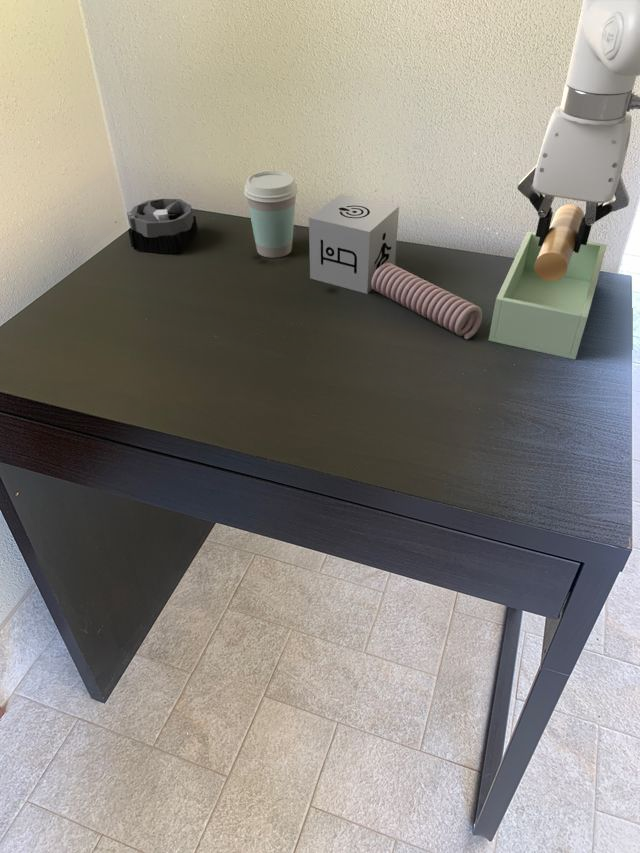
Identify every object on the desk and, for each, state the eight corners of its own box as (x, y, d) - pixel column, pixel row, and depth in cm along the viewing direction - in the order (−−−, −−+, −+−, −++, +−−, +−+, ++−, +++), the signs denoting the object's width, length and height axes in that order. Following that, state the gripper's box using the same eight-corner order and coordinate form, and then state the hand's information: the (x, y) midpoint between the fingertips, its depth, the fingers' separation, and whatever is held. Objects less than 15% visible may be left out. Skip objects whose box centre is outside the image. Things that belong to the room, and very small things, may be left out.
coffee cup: (307, 243, 116) (306, 173, 108) (286, 265, 110) (283, 193, 102) (262, 235, 119) (257, 165, 111) (239, 256, 113) (233, 185, 105)
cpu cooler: (200, 199, 116) (177, 225, 109) (204, 231, 120) (182, 257, 113) (143, 194, 118) (118, 219, 111) (149, 225, 122) (125, 251, 115)
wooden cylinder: (560, 235, 100) (550, 210, 98) (588, 224, 97) (578, 199, 96) (541, 285, 88) (529, 258, 87) (571, 275, 86) (560, 247, 84)
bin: (595, 284, 105) (606, 244, 101) (575, 359, 90) (587, 317, 86) (519, 270, 109) (527, 231, 104) (488, 340, 94) (496, 298, 89)
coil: (368, 268, 100) (464, 317, 90) (390, 255, 102) (486, 302, 92) (369, 295, 104) (462, 345, 93) (391, 282, 106) (483, 330, 95)
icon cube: (310, 278, 107) (308, 217, 101) (340, 252, 114) (340, 193, 107) (367, 293, 103) (369, 232, 97) (395, 265, 110) (399, 206, 103)
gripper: (672, 101, 81) (626, 244, 93) (529, 85, 86) (504, 223, 98) (669, 121, 76) (621, 269, 88) (517, 103, 81) (492, 246, 93)
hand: (559, 243), depth 93 cm, fingers closed on wooden cylinder, 4 cm apart
